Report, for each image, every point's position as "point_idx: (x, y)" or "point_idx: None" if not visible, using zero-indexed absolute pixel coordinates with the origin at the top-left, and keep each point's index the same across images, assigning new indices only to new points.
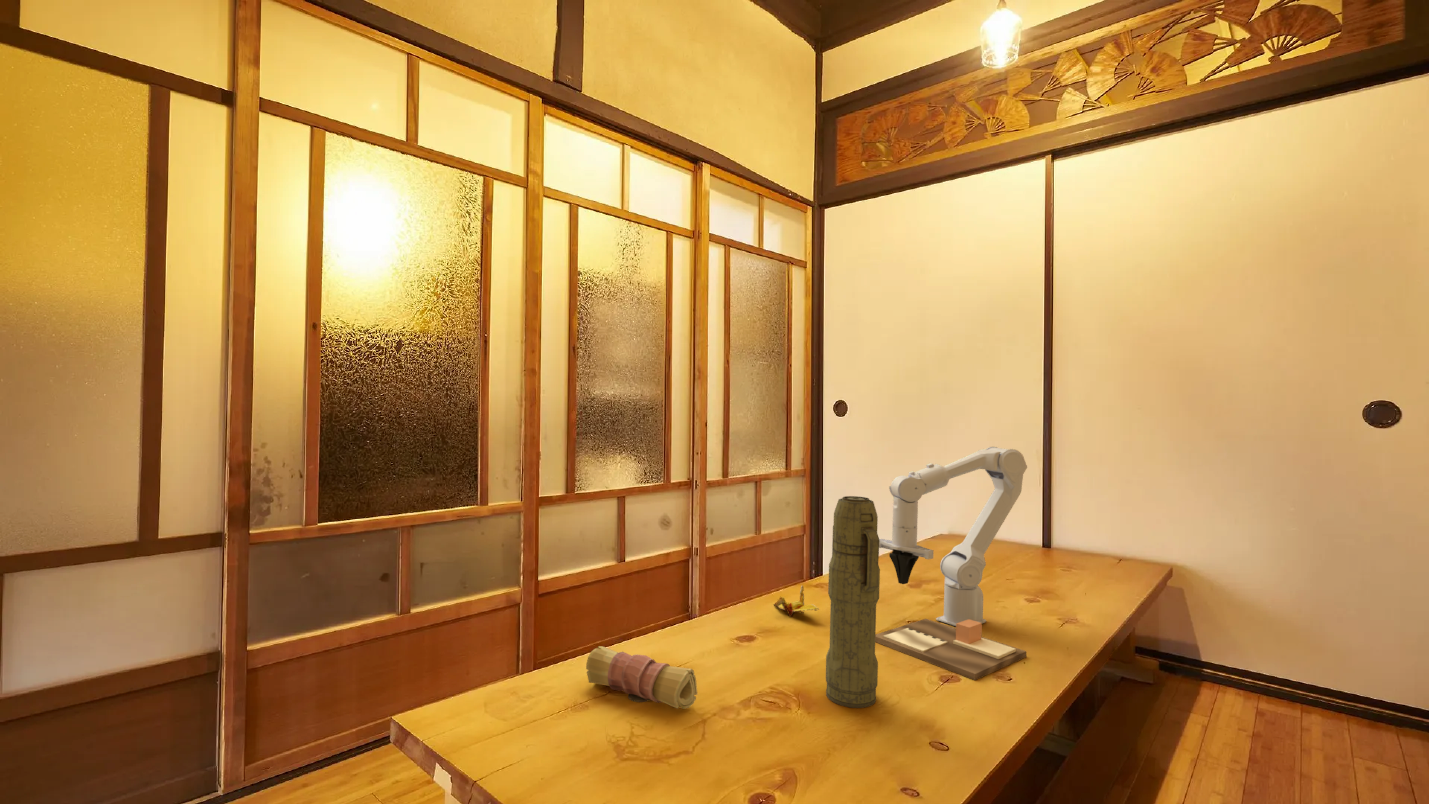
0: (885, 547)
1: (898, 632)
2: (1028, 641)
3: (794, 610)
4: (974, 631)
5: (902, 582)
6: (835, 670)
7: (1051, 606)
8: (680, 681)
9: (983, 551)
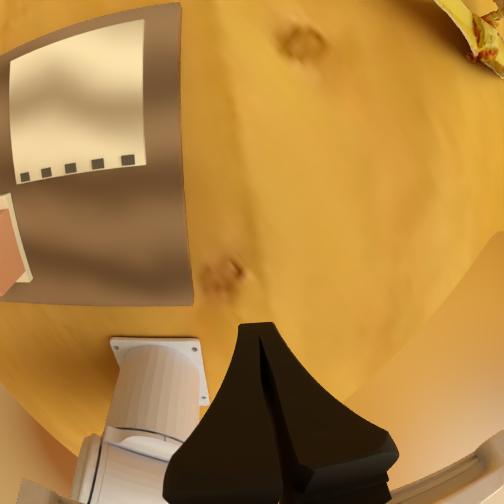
0: (453, 470)
1: (131, 93)
2: (35, 364)
3: (466, 7)
4: None
5: (242, 328)
6: None
7: None
8: None
9: None
